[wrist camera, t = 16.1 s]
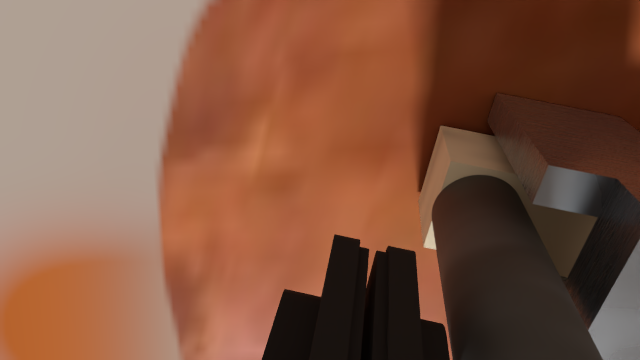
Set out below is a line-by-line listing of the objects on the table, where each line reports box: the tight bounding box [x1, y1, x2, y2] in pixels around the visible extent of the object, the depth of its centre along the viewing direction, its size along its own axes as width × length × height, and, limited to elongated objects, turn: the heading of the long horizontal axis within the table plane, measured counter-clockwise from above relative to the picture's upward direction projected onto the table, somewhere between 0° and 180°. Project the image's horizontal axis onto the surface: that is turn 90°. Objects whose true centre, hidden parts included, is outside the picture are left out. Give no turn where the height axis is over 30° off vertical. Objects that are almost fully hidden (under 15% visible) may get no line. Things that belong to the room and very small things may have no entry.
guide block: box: [487, 93, 640, 360], centre depth 14 cm, size 4×6×7 cm
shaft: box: [418, 126, 603, 360], centre depth 12 cm, size 8×3×10 cm, turn 81°
